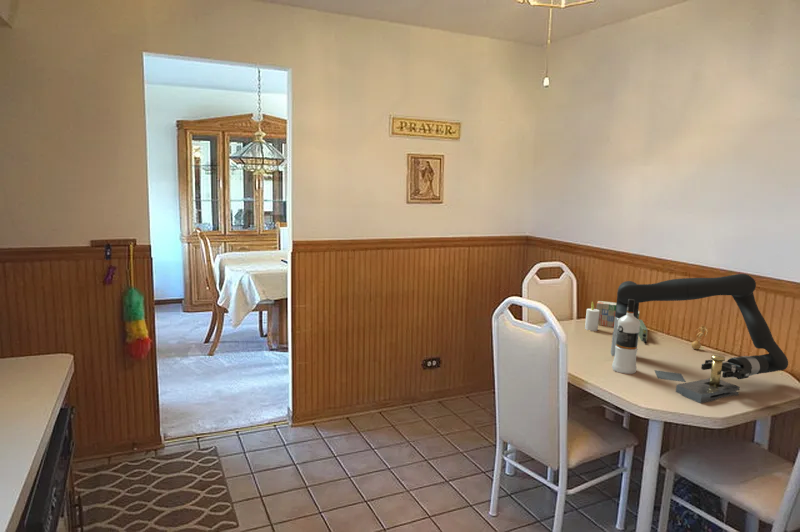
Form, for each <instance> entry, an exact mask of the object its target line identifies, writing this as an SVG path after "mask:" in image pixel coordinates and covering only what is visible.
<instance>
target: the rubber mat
mask: <svg viewBox="0 0 800 532" xmlns="http://www.w3.org/2000/svg"><path fill="white" fill-rule="evenodd" d="M654 373H655V375H656V378H657V379H660V380H667V381H673V382H674V381H675V382H681V383H687V382H686V380H685V378H684V376H683V375H682V373H679V372H674V371H673V372H672V371H664V370H656V369H654Z"/></svg>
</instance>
